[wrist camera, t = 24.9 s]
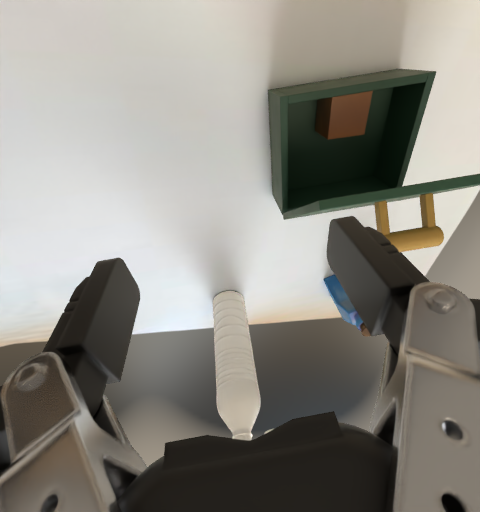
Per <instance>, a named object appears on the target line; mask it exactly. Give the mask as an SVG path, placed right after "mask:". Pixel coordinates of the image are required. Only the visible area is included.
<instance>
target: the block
mask: <svg viewBox="0 0 480 512" xmlns="http://www.w3.org/2000/svg"><path fill="white" fill-rule="evenodd" d="M372 93H373V91H368V92H362V93H355V94H349V95H343V96H337V97H331V98H325V99H318V100H317V111H316V123H315V131H316V132H317V133H319V134H320V135H322V136H323V137H325V138H326V139H327V140H329V139H336V138H344V137H351V136H358V135H364V134H365V129H366V124H367V118H368V113H369V108H370V103H371V98H372Z"/></svg>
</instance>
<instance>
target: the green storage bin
mask: <svg viewBox="0 0 480 512" xmlns="http://www.w3.org/2000/svg"><path fill="white" fill-rule="evenodd" d="M435 74H436V71H422V70H409V69H395V70H389V71H383V72H377V73H370V74H364V75H358V76H352V77H346V78H339V79H333V80H327V81H321V82H315V83H309V84H302V85H296V86H290V87H284V88H278V89H271V90H268V102H269V125H270V147H271V169H272V192H273V196H274V199H275V201H276V203H277V205H278V207H279V209H280V211H281V213H282V215H283V214H284V213H286V212H289V211H292V210H294V209H297V208H300V207H303V206H305V205H308V204H311V203H313V202H316V201H319V200H324V199H330V198H336V197H342V196H348V195H354V194H360V193H366V192H373V191H379V190H385V189H391V188H397V187H402V185H403V181H404V178H405V175H406V171H407V168H408V165H409V161H410V158H411V155H412V151H413V148H414V145H415V141H416V138H417V135H418V131H419V128H420V125H421V121H422V118H423V115H424V111H425V108H426V105H427V101H428V98H429V94H430V91H431V88H432V84H433V81H434V78H435ZM368 91H373V93H372V98H371V103H370V108H369V113H368V118H367V124H366V129H365V134H364V135H358V136H351V137H344V138H336V139H329V140H327V139H326V138H325V137H323V136H322V135H320V134H319V133H317V132H316V131H315V123H316V111H317V100H318V99H325V98H331V97H337V96H343V95H349V94H355V93H362V92H368Z"/></svg>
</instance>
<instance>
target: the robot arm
mask: <svg viewBox="0 0 480 512" xmlns="http://www.w3.org/2000/svg"><path fill="white" fill-rule="evenodd" d="M327 259H328V263H329V265H330V267H331V269H332V271H333V272H334V274H335V276H336V277H337V279H338V281H339V282H340V284H341V286H342V288H343V289H344V291H345V293H346V294H347V296H348V298H349V299H350V301H351V303H352V304H353V306H354V308H355V309H356V311H357V313H358V314H359V316H360V318H361V319H362V321H363V323H364V324H365V326H366V328H367V329H368V331H369V333H370V334H371V336H375V335H381V334H385V336H386V337H387V339H388V343H387V347H386V352H385V358H384V364H383V370H382V376H381V382H380V387H379V393H378V398H377V402H376V405H375V408H374V411H373V415H372V419H371V424H370V429H369V432H368V431H366V430H364V429H361V428H359V427H356V426H353V425H349V424H345V423H339V422H338V421H337V418H336V416H335V413H334V411H333V412H328V413H323V414H317V415H312V416H307V417H301V418H296V419H292V420H290V421H288V422H287V423H285V424H283V425H281V426H279V427H277V428H275V429H273V430H271V431H270V432H268V433H266V434H264V435H262V436H260V437H258V438H257V439H254V440H240V439H232V438H225V437H217V436H209V435H206V436H200V437H195V438H189V439H184V440H179V441H173V442H168V443H165V453H164V456H163V457H161V458H160V459H158V460H157V461H155V462H154V463H152V464H151V465H150V466H149V467H147V466H146V464H145V463H144V461H143V460H142V458H141V457H140V456H139V454H138V453H137V452H136V451H135V450H134V448H133V447H132V445H131V444H130V442H129V440H128V438H127V437H126V435H125V433H124V431H123V429H122V427H121V425H120V423H119V421H118V419H117V417H116V415H115V413H114V411H113V409H112V407H111V405H110V403H109V401H108V399H107V397H106V396H105V395H104V390H105V387H106V384H110V383H115V382H120V380H121V376H122V372H123V368H124V364H125V359H126V355H127V351H128V347H129V343H130V339H131V335H132V330H133V326H134V322H135V318H136V314H137V310H138V306H139V301H140V292H139V288H138V285H137V283H136V282H135V280H134V278H133V276H132V275H131V273H130V271H129V269H128V268H127V266H126V264H125V262H124V261H123V260H122V259H121V258H114V259H109V260H103V261H99V262H97V263H96V265H95V267H94V269H93V271H92V273H91V275H90V277H86V278H85V279H84V280H83V281H82V282H81V283H80V284H79V285H78V286H77V287H76V289H75V291H74V292H73V294H72V296H71V298H70V300H69V301H70V303H68V304H67V306H66V308H65V310H64V311H65V312H64V313H63V314H62V315H61V317H60V319H59V321H58V323H57V325H56V327H55V329H54V331H53V333H52V335H51V337H50V338H49V340H48V342H47V344H46V346H45V348H44V350H43V352H42V353H40V354H37V355H35V356H32V357H30V358H29V359H27V360H26V361H24V362H23V363H22V364H20V365H19V366H18V367H17V368H16V369H15V370H14V371H13V372H12V373H11V374H10V375H9V377H8V378H7V380H6V381H5V383H4V385H2V386H0V512H480V300H478V299H469V298H468V297H467V296H465V295H464V294H463V293H462V292H460V291H459V290H457V289H455V288H453V287H451V286H448V285H445V284H442V283H436V282H430V281H429V280H428V279H427V278H426V277H425V276H424V275H423V274H422V273H421V272H420V271H419V270H418V269H417V268H416V267H415V266H414V265H413V264H412V263H411V262H410V261H409V260H408V259H407V258H406V257H405V256H404V255H403V254H402V253H401V252H399V250H398V249H397V248H396V247H395V246H394V245H393V244H392V245H391V242H390V241H389V240H388V239H387V238H386V237H385V236H384V235H383V234H382V233H380V232H378V231H376V230H375V229H373V228H371V227H363V226H362V224H361V223H360V222H359V221H358V220H357V219H356V218H355V217H354V216H350V217H344V218H339V219H333V220H331V222H330V227H329V235H328V244H327Z"/></svg>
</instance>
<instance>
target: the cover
mask: <svg viewBox="0 0 480 512" xmlns="http://www.w3.org/2000/svg"><path fill="white" fill-rule="evenodd" d="M478 185H480V174H475V175H469V176H463V177H457V178H451V179H445V180H439V181H433V182H427V183H421V184H415V185H409V186H403V187H397V188H391V189H385V190H379V191H373V192H366V193H360V194H354V195H348V196H342V197H336V198H330V199H324V200H319V201H316V202H313V203H311V204H308V205H305V206H303V207H300V208H297V209H294V210H292V211H289V212H286V213H284V214H283V218H284V220H285V219H291V218H297V217H303V216H309V215H315V214H321V213H327V212H333V211H339V210H345V209H351V208H357V207H363V206H369V205H375V214H376V223H377V231H378V232H380V233H382V234H383V235H384V236H385V237H386V238H387V239H388V240H389V241H390V242H391V245H392V244H393V245H394V246H395V247H396V248H397V249H398V250H399V252H404V251H409V250H415V249H421V248H427V247H433V246H438V245H440V244H441V243H442V242H443V239H444V235H443V231H442V230H441V228H439V227H438V226H436V225H435V213H434V202H433V194H436V193H442V192H447V191H452V190H457V189H463V188H468V187H473V186H478ZM415 197H420V206H421V216H422V228H416V229H410V230H404V231H398V232H392V233H390V229H389V220H388V211H387V202H393V201H399V200H405V199H410V198H415Z"/></svg>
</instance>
